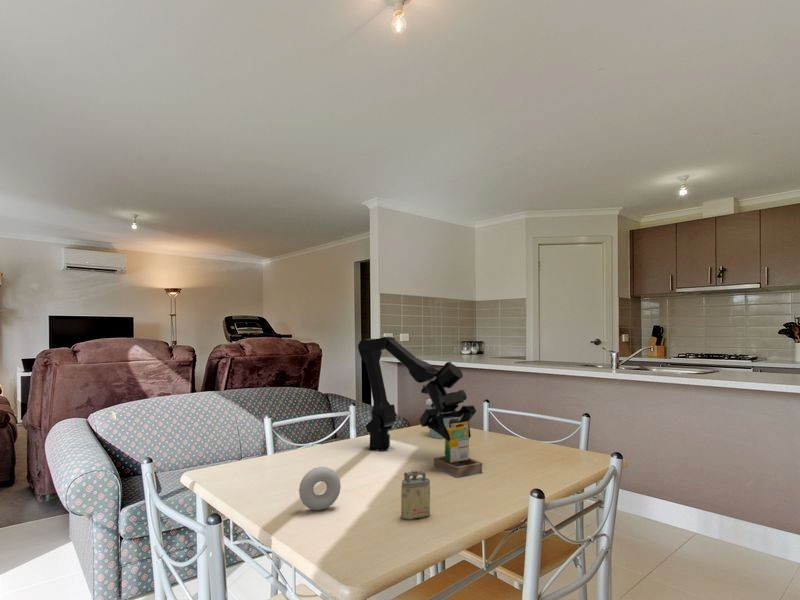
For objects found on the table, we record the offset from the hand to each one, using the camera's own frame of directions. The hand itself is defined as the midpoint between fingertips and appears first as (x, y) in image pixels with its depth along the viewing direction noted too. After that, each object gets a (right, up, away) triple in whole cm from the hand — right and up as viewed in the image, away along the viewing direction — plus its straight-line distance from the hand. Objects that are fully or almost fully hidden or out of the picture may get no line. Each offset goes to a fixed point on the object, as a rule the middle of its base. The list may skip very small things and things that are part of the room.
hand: (459, 438), depth 141 cm
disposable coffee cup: (-3, -12, +43) cm, 45 cm away
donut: (-37, -8, -31) cm, 49 cm away
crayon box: (-1, -7, +1) cm, 7 cm away
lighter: (-14, -8, -34) cm, 38 cm away
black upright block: (+2, -11, +20) cm, 23 cm away
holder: (-1, -10, +1) cm, 10 cm away
